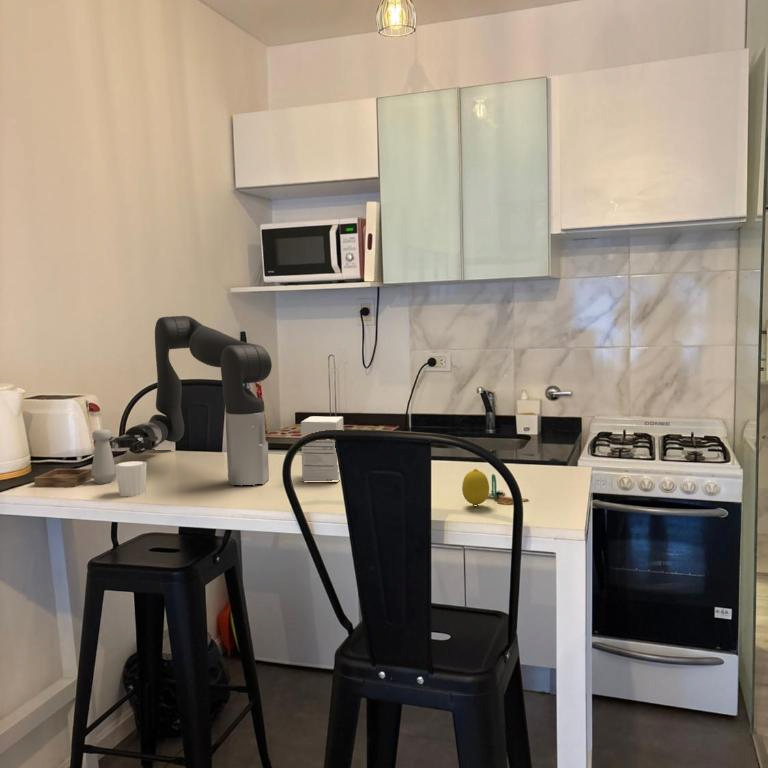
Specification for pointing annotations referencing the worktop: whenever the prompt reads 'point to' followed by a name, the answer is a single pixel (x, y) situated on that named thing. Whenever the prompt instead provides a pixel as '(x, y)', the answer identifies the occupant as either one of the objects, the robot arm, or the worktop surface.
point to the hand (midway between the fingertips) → (117, 448)
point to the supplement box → (320, 450)
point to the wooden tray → (63, 478)
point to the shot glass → (131, 477)
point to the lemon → (475, 487)
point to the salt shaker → (103, 458)
